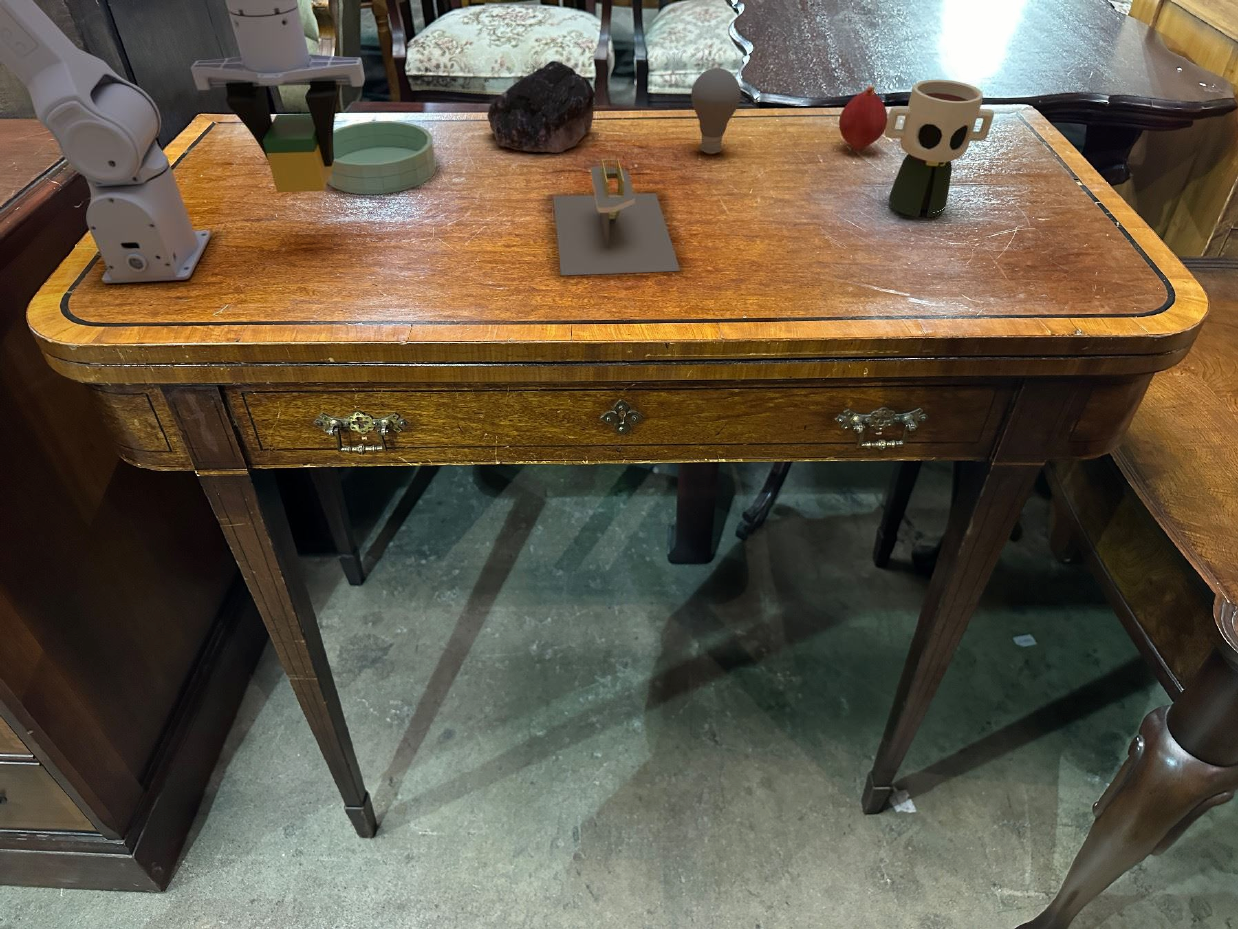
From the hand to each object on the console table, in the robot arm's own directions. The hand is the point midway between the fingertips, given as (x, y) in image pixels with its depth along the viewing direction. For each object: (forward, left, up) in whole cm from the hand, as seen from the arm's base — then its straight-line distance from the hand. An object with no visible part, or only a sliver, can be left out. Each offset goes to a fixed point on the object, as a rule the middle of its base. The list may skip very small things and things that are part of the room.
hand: (302, 163), depth 80 cm
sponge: (0, 0, -1) cm, 1 cm away
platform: (0, -30, -9) cm, 32 cm away
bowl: (+18, -4, -8) cm, 20 cm away
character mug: (+2, -65, -9) cm, 66 cm away
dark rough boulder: (+27, -24, -9) cm, 37 cm away
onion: (+19, -64, -9) cm, 68 cm away
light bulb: (+20, -45, -9) cm, 50 cm away
